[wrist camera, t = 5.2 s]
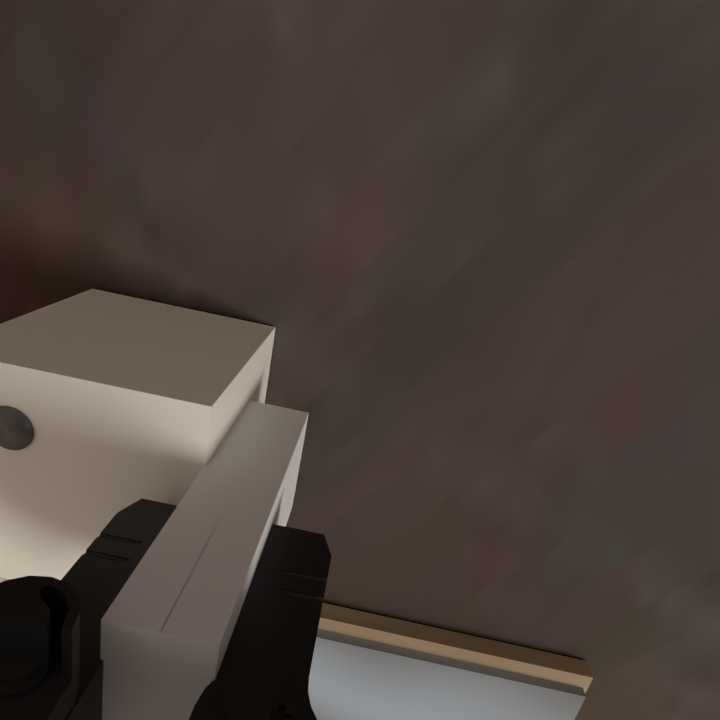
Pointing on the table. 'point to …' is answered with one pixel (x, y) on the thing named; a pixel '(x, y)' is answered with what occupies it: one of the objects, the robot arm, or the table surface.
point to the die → (111, 415)
